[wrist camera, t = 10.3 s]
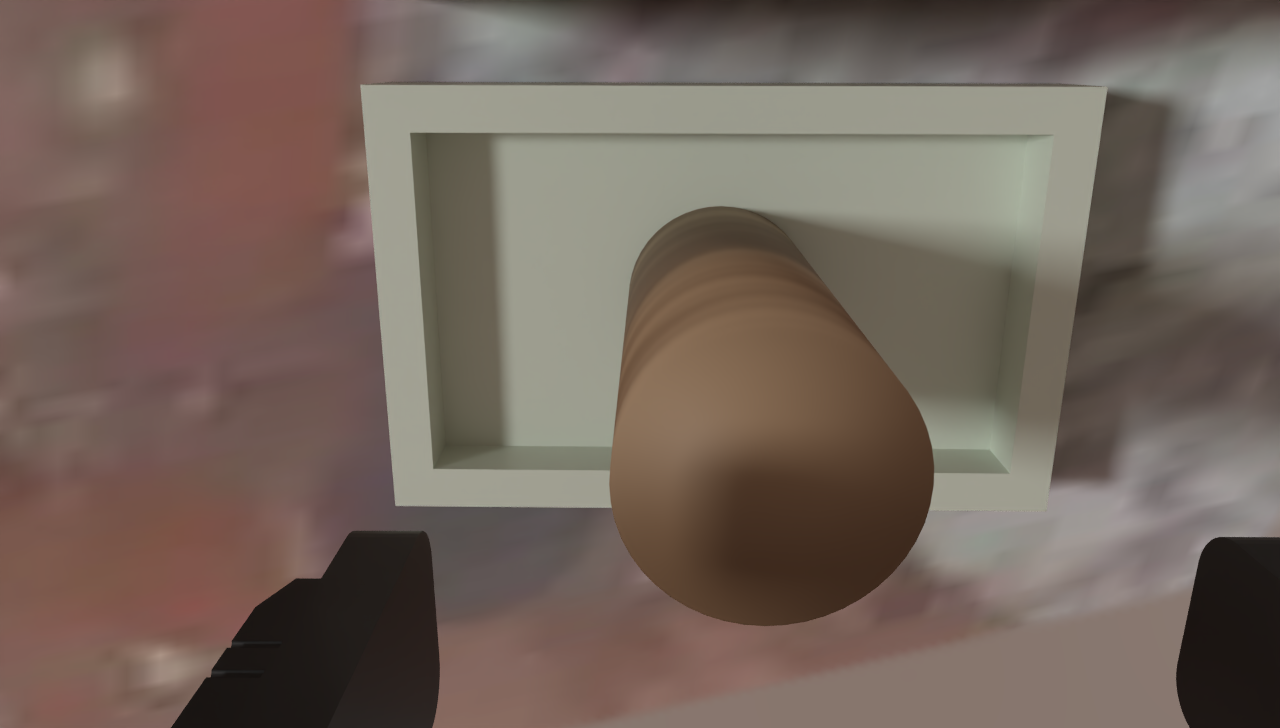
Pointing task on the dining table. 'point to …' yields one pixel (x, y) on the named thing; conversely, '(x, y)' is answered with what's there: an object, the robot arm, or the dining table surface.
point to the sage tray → (707, 177)
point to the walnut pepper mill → (758, 430)
